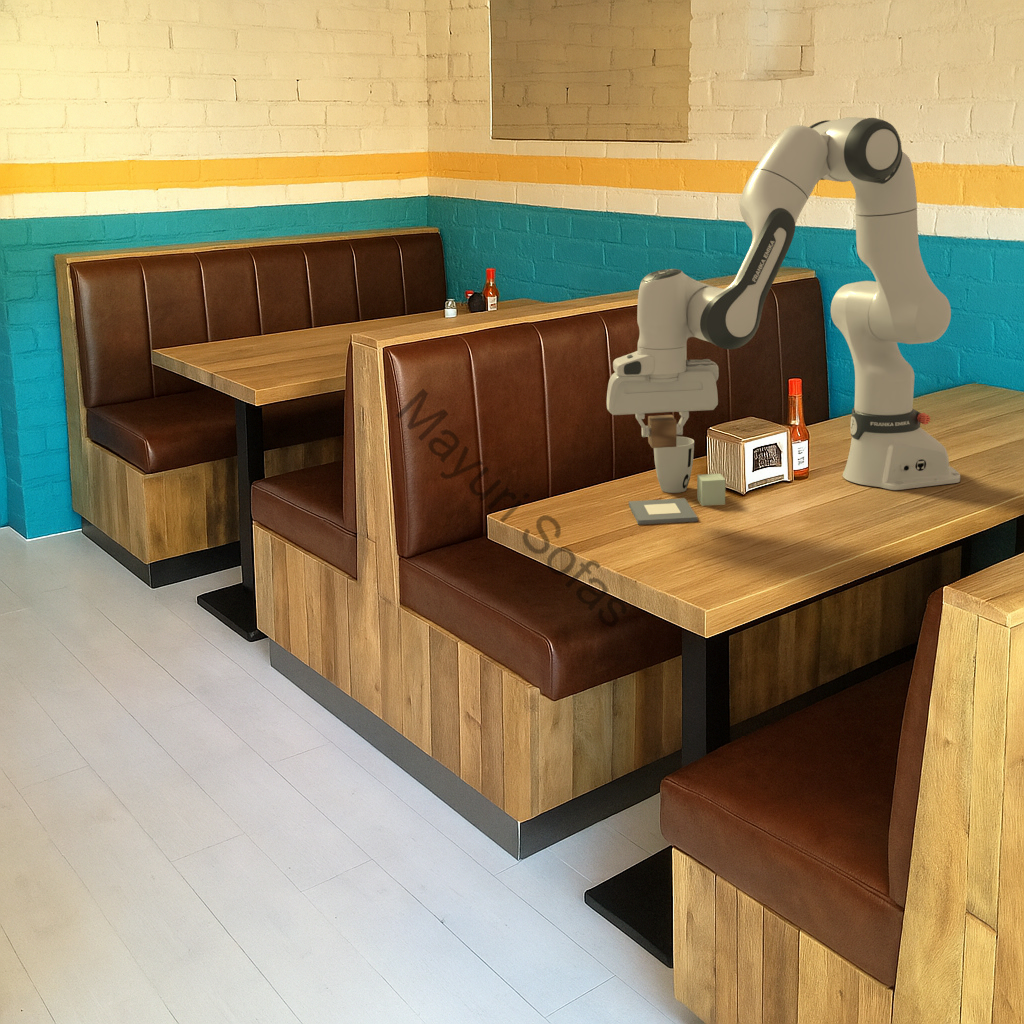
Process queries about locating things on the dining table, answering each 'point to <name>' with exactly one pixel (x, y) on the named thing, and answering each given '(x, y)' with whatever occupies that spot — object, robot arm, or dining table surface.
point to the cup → (674, 465)
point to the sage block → (711, 489)
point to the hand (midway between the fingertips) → (662, 435)
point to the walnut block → (662, 431)
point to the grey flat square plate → (662, 511)
